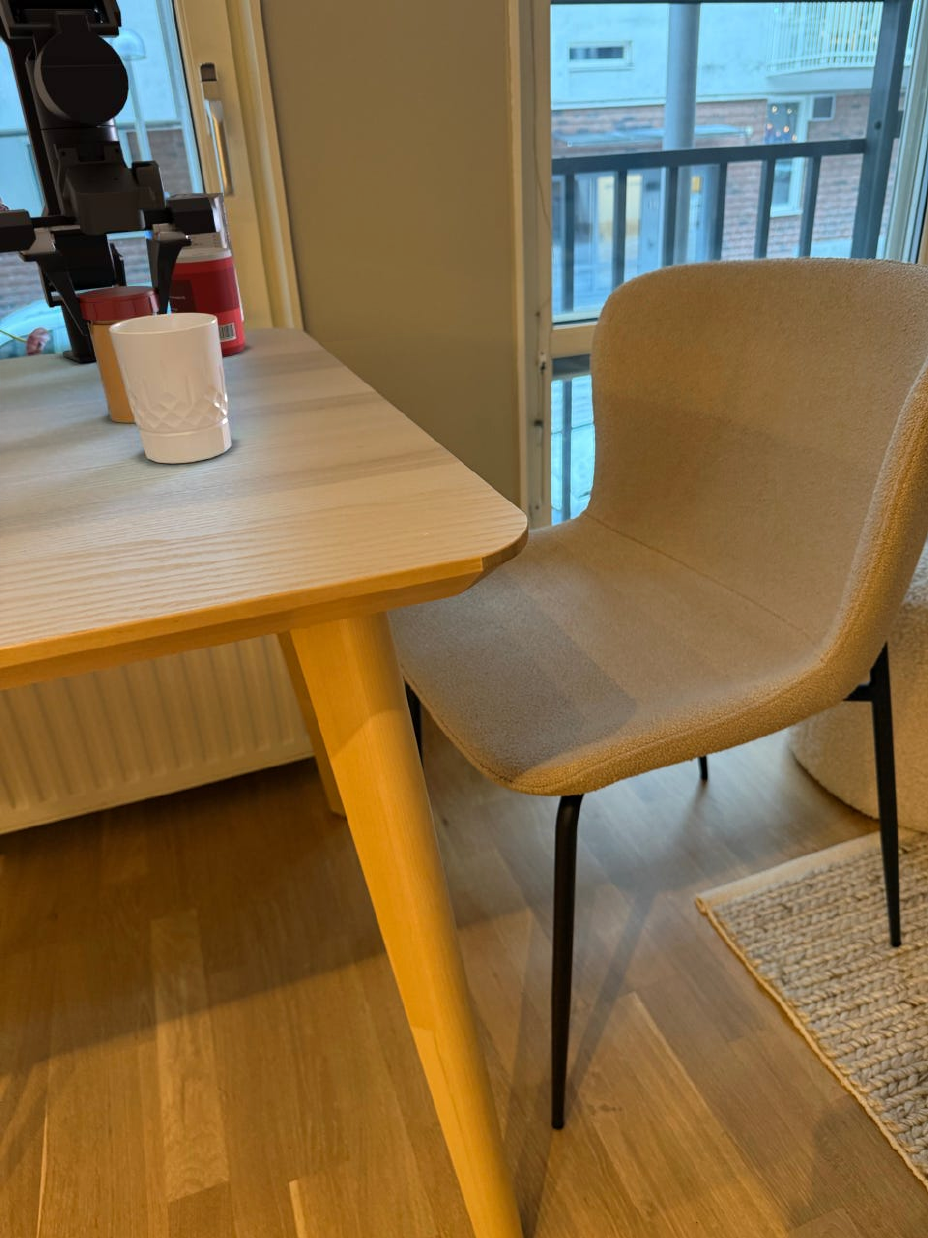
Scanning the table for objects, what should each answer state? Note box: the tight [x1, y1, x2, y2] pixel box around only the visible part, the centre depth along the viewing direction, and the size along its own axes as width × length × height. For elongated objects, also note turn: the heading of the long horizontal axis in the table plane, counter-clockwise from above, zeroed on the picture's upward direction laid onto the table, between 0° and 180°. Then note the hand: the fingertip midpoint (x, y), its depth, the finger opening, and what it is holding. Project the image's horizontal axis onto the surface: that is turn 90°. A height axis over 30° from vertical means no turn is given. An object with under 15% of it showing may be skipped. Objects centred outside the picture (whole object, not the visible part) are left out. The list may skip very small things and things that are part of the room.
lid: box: [77, 285, 160, 321], centre depth 78 cm, size 7×7×2 cm
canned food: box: [168, 248, 246, 358], centre depth 103 cm, size 8×8×11 cm
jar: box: [88, 313, 156, 424], centre depth 80 cm, size 6×6×10 cm
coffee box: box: [168, 192, 245, 323], centre depth 115 cm, size 9×6×16 cm
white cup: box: [109, 313, 232, 464], centre depth 70 cm, size 8×8×10 cm
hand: (124, 329), depth 79 cm, fingers closed on lid, 6 cm apart
